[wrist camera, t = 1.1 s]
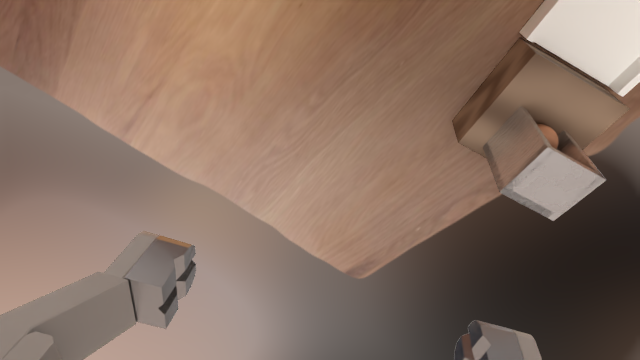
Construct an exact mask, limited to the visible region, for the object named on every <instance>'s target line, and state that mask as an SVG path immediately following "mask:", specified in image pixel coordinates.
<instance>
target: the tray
mask: <svg viewBox="0 0 640 360" xmlns="http://www.w3.org/2000/svg"><path fill="white" fill-rule="evenodd" d="M519 33H520V34H521V35H523V36H524V37H525V38H526V39H527V40H529V41H530V42H532V43H533V42H535V43H537V44H538V45H540V46H542V47H543V48H545V49H547V50H548V51H550V52H552V53H553V54H555V55H557V56H558V57H560V58H562V59H563V60H565V61H567V62H568V63H570V64H572V65H573V66H575V67H577V68H578V69H580V70H582V71H583V72H585V73H587V74H588V75H590V76H592V77H593V78H595V79H597V80H598V81H600V82H602V83H603V84H605V85H607V86H608V87H610V88H611V89H612V90H613V91H615V92H616V93H617V94H619V95H621V96H622V97H623V96H624V95H626V94H627V93H628V92H629V91H630V90H631V89H632V88H633V87H634V86H636V85H637V84H638V83H639V82H640V0H545V1H544V2H543V3H542V4H541V6H540V7H539V8H538V9H537V10H536V12H535V13H534V14H533V15H532V17H531V18H530V19H529V20H528V22H527V23H526V24H525V25H524V27H523V28H522V29H521V30H520V32H519Z"/></svg>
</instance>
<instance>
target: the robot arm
mask: <svg viewBox="0 0 640 360" xmlns="http://www.w3.org/2000/svg"><path fill="white" fill-rule="evenodd" d="M195 254H196V253H195V246H194V245H191V244H187V243H184V242H181V241H177V240H174V239H170V238H167V237H164V236H160V235H157V234H153V233H149V232H146V231H143V232H141V233H139V234H138V235H137V236H136V237H135V238H134V239H133V241H132V242H131V243H130V244H129V245H128V246H127V247H126V248H125V249H124V251H123V252H122V253H121V254H120V255H119V256H118V257H117V258H116V260H115V261H114V262H113V263H112V264H111V265H110V266H109V267H108V269H107V270H106V271H105V272H104V273H101V272H97V273H94V274H92V275H90V276H88V277H85V278H83V279H81V280H79V281H77V282H74V283H72V284H70V285H67V286H65V287H63V288H61V289H58V290H56V291H54V292H52V293H49V294H47V295H45V296H42V297H40V298H38V299H36V300H33V301H31V302H29V303H27V304H24V305H22V306H20V307H18V308H16V309H13V310H11V311H9V312H7V313H4V314H2V315H0V360H83V359H85V358H86V357H88V356H89V355H91V354H92V353H94V352H95V351H97V350H98V349H100V348H101V347H102V346H104V345H106V344H107V343H108V342H110V341H111V340H113V339H114V338H116V337H117V336H119V335H120V334H121V333H123V332H125V331H126V330H128V329H129V328H131V327H132V326H134V325H135V324H136V322H140V323H144V324H148V325H151V326H156V327H160V328H164V329H166V328H167V326H168V325H169V323H170V322H171V320H172V318H173V316H174V315H175V313H176V311H177V310H178V300H179V299H181V298H183V297H184V296H186V295H187V293H188V291H189V289H190V287H191V285H192V282H193V280H194V277H195V271H196V264H195V263H194V262H193V261H192V258H193V257H194V256H195ZM468 330H469V334H466V335H463V336H461V337H460V339H459V340H458V342H457V344H456V348H455V352H454V360H542V359H541V356H540V353H539V350H538V348H537V345H536V342H535V340H534V338H533V337H532V336H531V335H530V334H526V333H522V332H518V331H515V330H511V329H509V328H505V327H500V326H497V325H493V324H489V323H485V322H481V321H477V320H475V321H473V322H472V323H471V324H470V325H469V326H468Z"/></svg>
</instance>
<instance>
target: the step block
mask: <svg viewBox="0 0 640 360" xmlns="http://www.w3.org/2000/svg"><path fill="white" fill-rule="evenodd" d="M520 106H521V107H523V108H525V109H527V111H528V112H529V114H530V115H531V117H532V118H533V120H534V121H535V122H536V124H543V125H547V126H549V127H551V128H552V129H553V130H554V131H555V132H556V134H557V136H558V135H559V134H560V133H561V132H562V131H565V132H567V133H569V134H570V135H571V137H572V138H573V139H574V140H575V142H576V143H577V144H578V145H579V147H580V148H581V149H582V150H583V149H584V148H585V147H586V146H588V145H589V144H590V143H591V142H592V141H593V140H595V139H596V138H597V137H598V136H599V135H600V134H602V133H603V132H604V131H605V130H606V129H607V128H608V127H610V126H611V125H612V124H613V123H614V122H615V121H617V120H618V119H619V118H620V117H621V116H622V115H623V114H625V113H626V112H627V111H628V110H629V108H628V107H627V106H626V105H624V104H623V103H622V102H621V101H619V100H618V99H617V98H616V97H614V96H613V95H612V94H611V93H610V92H608V91H607V90H606V89H605V88H603V87H602V86H600V85H598V84H596V83H595V82H593V81H591V80H590V79H588V78H586V77H585V76H583V75H581V74H580V73H578V72H576V71H575V70H573V69H571V68H570V67H568V66H566V65H565V64H563V63H561V62H560V61H558V60H556V59H555V58H553V57H551V56H550V55H548V54H546V53H545V52H543V51H541V50H540V49H538V48H536V47H535V46H533V45H531V44H530V43H528V42H526V41H525V40H523V39H521V38H519V39H518V41H517V42H516V43H515V44H514V46H513V47H512V48H511V49H510V51H509V52H508V53H507V54H506V55H505V57H504V58H503V59H502V60H501V62H500V63H499V64H498V65H497V66H496V68H495V69H494V70H493V71H492V73H491V74H490V75H489V76H488V78H487V79H486V80H485V81H484V82H483V84H482V85H481V86H480V87H479V89H478V90H477V91H476V92H475V93H474V95H473V96H472V97H471V98H470V100H469V101H468V102H467V103H466V105H465V106H464V107H463V108H462V109H461V111H460V112H459V113H458V114H457V116H456V117H455V118H454V119H453V120H452V122H453V125H454V129H455V133H456V137H457V140H458V143H459V144H461V145H463V146H465V147H467V148H469V149H470V150H472V151H474V152H476V153H478V154H480V155H482V156H483V157H485V158H487V157H486V154H485V152H484V149H483V146H484V145H485V144H486V143H487V142H488V141H489V140H490V138H491V137H492V136H493V135H494V134H495V133H496V132H497V131H498V130H499V129H500V128H501V127H502V126H503V124H504V123H505V122H506V121H507V120H508V119H509V118H510V117H511V116H512V115H513V114H514V113H515V112H516V110H517V109H518V108H519V107H520Z"/></svg>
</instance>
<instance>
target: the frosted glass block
mask: <svg viewBox="0 0 640 360" xmlns="http://www.w3.org/2000/svg"><path fill="white" fill-rule="evenodd" d="M558 141H559V142H558V147H557V149H555V148H553V147H552V146H551V144H550V143H549V142H548V140H547V139H546V137H545V136H544V134H543V133H542V131H541V130H540V128H539V127H538V125H537V124H536V122H535V121H534V120H533V118H532V117H531V115H530V114H529V112H528V111H527V109H525V108H523V107H521V106H520V107H519V108H518V109H517V110H516V112H515V113H514V114H513V115H512V116H511V117H510V118H509V119H508V120H507V121H506V122H505V123H504V124H503V126H502V127H501V128H500V129H499V130H498V131H497V132H496V133H495V134H494V135H493V136H492V137H491V138H490V140H489V141H488V142H487V143H486V144H485V145H484V146H483V149H484V152H485V154H486V157H487V160H488V162H489V165H490V168H491V170H492V173H493V176H494V179H495V181H496V184H497V187H498V189H499V192H500V193H502V194H504V195H506V196H508V197H510V198H511V199H514V200H515V201H517V202H519V203H521V204H523V205H525V206H527V207H528V208H530V209H532V210H534V211H536V212H538V213H540V214H542V215H544V216H545V217H547V218H549V219H551V220H553V221H554V220H555V219H557V218H558V217H559V216H560V215H562V214H563V213H564V212H566V211H567V210H568V209H570V208H571V207H572V206H573V205H575V204H576V203H577V202H579V201H580V200H581V199H582V198H584V197H585V196H586V195H588V194H589V193H590V192H592V191H593V190H594V189H595V188H597V187H598V186H599V185H601V184H602V183H603V182H605V181H606V179H605V178H604V177H603V175H602V174H601V173H600V171H599V170H598V169H597V168H596V166H595V165H594V164H593V163H592V162H591V160H590V159H589V158H588V156H587V155H586V154H585V153H584V152H583V150H582V149H581V148H580V147H579V145H578V144H577V143H576V142H575V140H574V139H573V138H572V137H571V135H570V134H569V133H567V132H565V131H562V132H561V133H560V134H559V135H558Z"/></svg>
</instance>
